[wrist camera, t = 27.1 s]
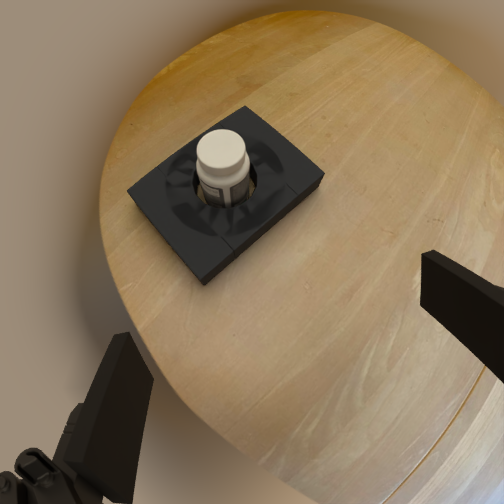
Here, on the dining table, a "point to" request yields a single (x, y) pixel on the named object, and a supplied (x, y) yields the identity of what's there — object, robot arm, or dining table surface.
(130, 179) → the dining table surface
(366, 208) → the dining table surface
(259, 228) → the black rectangular holder
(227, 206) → the pill bottle
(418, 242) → the dining table surface
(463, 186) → the dining table surface
